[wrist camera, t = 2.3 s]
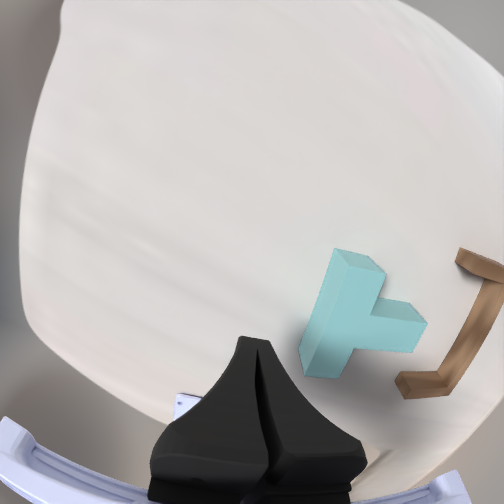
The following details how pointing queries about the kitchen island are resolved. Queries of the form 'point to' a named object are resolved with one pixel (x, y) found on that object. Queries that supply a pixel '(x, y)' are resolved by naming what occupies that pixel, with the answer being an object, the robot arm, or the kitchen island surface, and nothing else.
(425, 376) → the wooden drawer handle
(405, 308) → the t block
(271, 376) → the robot arm
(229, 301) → the kitchen island surface
